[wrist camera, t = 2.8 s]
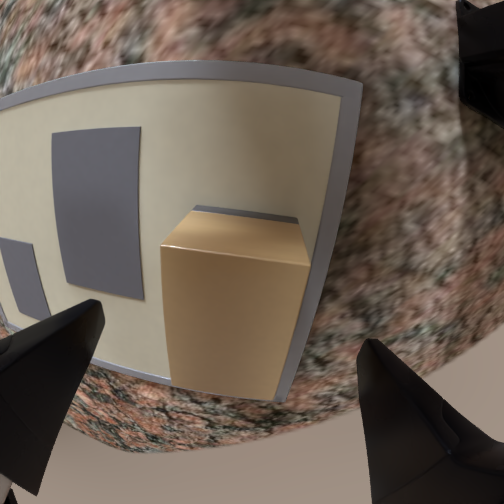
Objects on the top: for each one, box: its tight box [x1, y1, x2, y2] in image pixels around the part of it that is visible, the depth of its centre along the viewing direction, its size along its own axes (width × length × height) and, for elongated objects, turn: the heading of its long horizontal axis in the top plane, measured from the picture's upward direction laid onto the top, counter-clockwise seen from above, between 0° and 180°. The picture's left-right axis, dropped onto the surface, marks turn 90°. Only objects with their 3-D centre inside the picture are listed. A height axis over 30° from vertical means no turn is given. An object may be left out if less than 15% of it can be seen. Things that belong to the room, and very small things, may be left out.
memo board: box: [0, 60, 363, 402], centre depth 12 cm, size 23×17×1 cm
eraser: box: [160, 205, 311, 400], centre depth 10 cm, size 4×6×4 cm, turn 173°
